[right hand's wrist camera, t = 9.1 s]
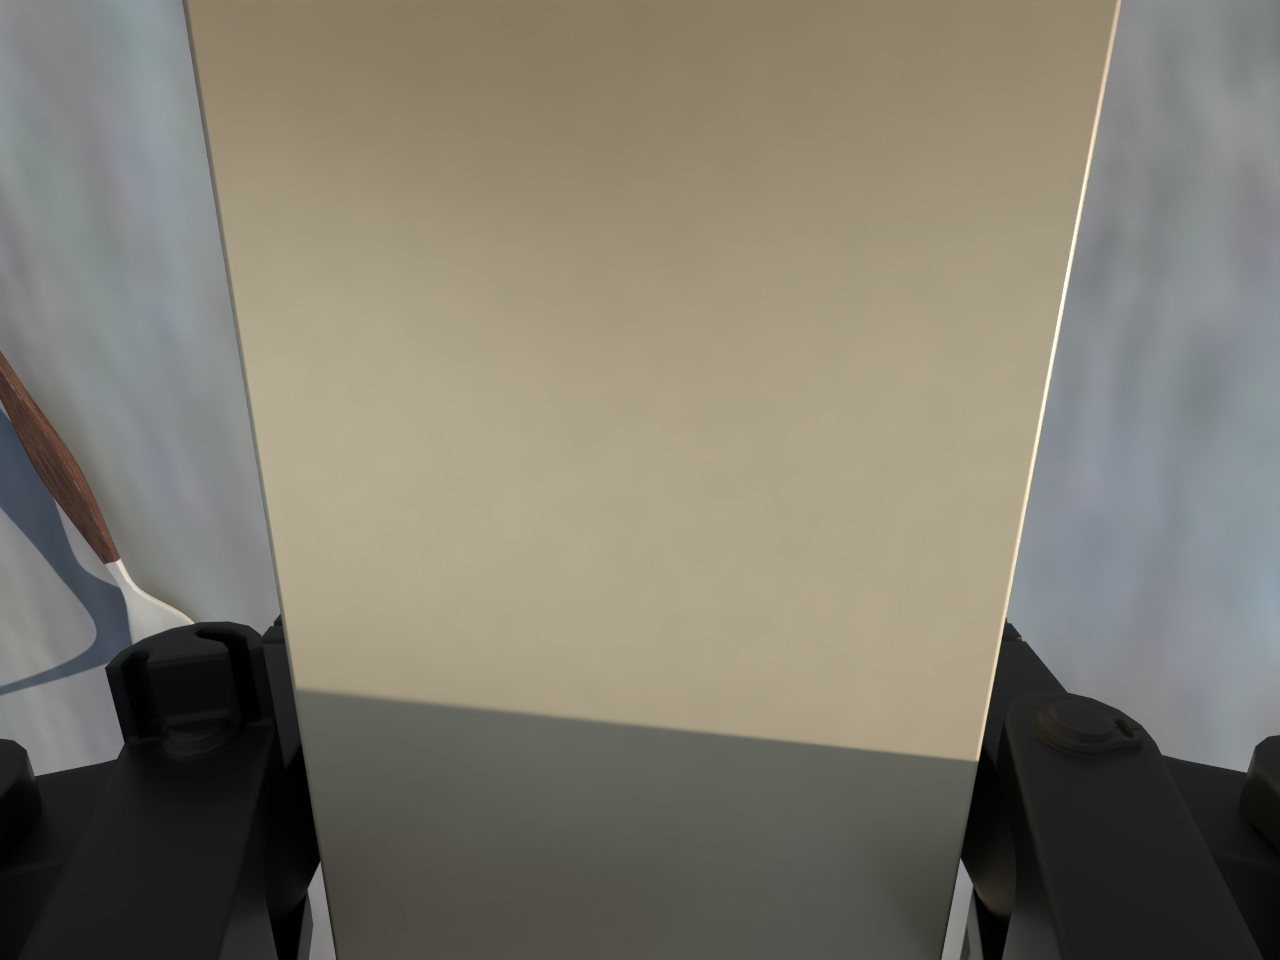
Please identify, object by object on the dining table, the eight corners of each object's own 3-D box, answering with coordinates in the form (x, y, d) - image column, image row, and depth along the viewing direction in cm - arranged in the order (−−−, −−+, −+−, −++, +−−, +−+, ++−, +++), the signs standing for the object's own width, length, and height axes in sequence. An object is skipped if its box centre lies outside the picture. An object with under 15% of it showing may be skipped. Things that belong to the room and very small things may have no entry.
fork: (8, 283, 25) (-43, 292, 23) (245, 707, 30) (219, 742, 29) (-67, 308, 25) (-123, 319, 23) (181, 723, 31) (151, 760, 29)
